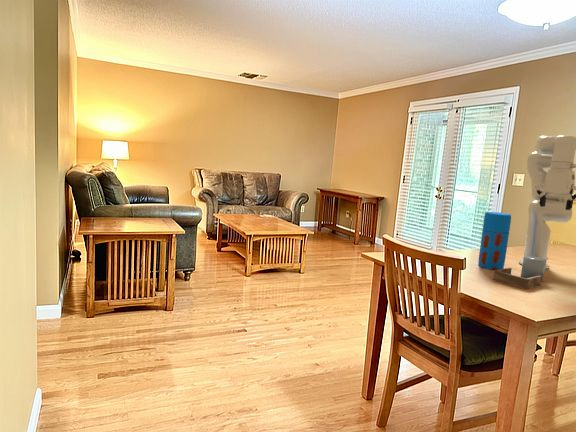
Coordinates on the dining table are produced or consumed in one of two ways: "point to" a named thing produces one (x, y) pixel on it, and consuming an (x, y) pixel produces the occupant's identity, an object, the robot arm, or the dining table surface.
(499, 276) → the caddy
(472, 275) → the dining table surface
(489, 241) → the blue domino block
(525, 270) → the grey-blue mug
